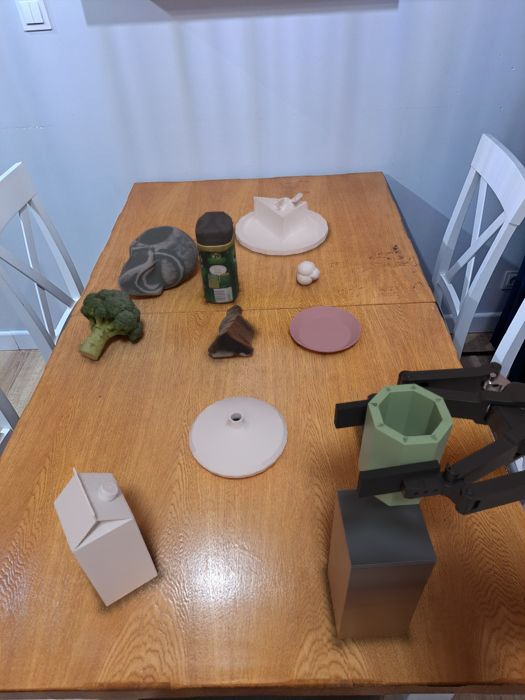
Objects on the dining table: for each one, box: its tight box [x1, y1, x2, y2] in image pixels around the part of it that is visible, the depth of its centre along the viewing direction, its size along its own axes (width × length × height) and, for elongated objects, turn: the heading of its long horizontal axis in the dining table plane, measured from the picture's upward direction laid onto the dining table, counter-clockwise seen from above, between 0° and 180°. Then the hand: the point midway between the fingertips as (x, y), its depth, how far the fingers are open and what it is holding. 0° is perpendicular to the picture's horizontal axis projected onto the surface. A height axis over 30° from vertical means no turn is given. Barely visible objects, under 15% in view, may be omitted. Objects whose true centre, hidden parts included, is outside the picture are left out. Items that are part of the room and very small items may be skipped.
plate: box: [289, 305, 362, 353], centre depth 99 cm, size 14×14×2 cm
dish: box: [234, 192, 329, 256], centre depth 128 cm, size 25×25×11 cm
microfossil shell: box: [296, 260, 321, 286], centre depth 112 cm, size 4×5×6 cm
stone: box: [207, 304, 256, 359], centre depth 98 cm, size 9×6×15 cm
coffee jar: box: [194, 210, 240, 305], centre depth 105 cm, size 10×8×19 cm
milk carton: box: [53, 467, 159, 607], centre depth 59 cm, size 7×7×19 cm
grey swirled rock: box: [117, 225, 199, 296], centre depth 112 cm, size 11×16×20 cm
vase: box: [188, 395, 289, 479], centre depth 77 cm, size 16×16×7 cm
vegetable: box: [77, 288, 144, 361], centre depth 97 cm, size 12×13×15 cm
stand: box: [326, 488, 438, 640], centre depth 54 cm, size 8×8×20 cm
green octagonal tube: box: [357, 384, 455, 506], centre depth 43 cm, size 6×6×9 cm
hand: (347, 448), depth 42 cm, fingers closed on green octagonal tube, 7 cm apart
